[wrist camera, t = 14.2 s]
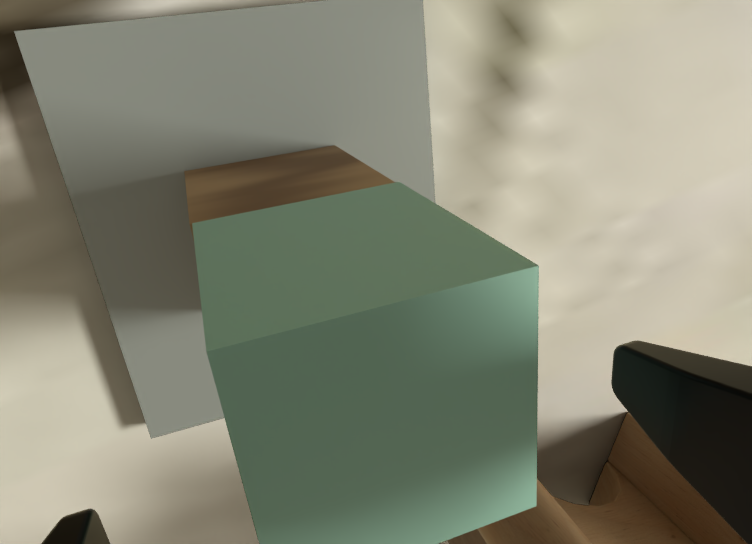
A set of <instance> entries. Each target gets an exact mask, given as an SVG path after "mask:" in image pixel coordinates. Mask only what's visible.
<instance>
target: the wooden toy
mask: <svg viewBox="0 0 752 544" xmlns="http://www.w3.org/2000/svg"><path fill="white" fill-rule="evenodd" d="M447 541H448V543H449V544H747V543H746V542H745V541H744V540H743V539H742V538H741V537H740V536H739V535H738V534H737V533H736V532H735V531H734V530H733V529H732V528H731V526H730V525H729V524H728V523H727V522H726V521H725V520H724V519H723V518H722V517H721V516H720V515H719V514H718V513H717V512H716V511H715V510H714V509H713V508H712V507H711V506H710V505H709V504H708V503H707V501H706V500H705V499H704V498H703V497H702V496H701V495H700V494H699V493H698V492H697V491H696V490H695V489H694V488H693V487H692V486H691V485H690V484H689V483H688V482H687V481H686V480H685V479H684V478H683V476H682V475H681V474H680V473H679V472H678V471H677V470H676V469H675V468H674V467H673V466H672V465H671V464H670V463H669V461H668V460H667V459H666V458H665V457H664V455H663V454H662V453H661V452H660V451H659V449H658V448H657V447H656V446H655V444H654V443H653V442H652V441H651V439H650V438H649V437H648V436H647V434H646V433H645V432H644V431H643V429H642V428H641V427H640V426H639V424H638V423H637V422H636V421H635V419H634V418H633V417H632V416H631V414H630V413H627V414H626V416H625V419H624V421H623V424H622V426H621V428H620V431H619V433H618V436H617V438H616V441H615V443H614V446H613V448H612V451H611V453H610V456H609V458H608V462H606V463H605V465H604V468H603V470H602V472H601V475H600V477H599V480H598V482H597V485H596V487H595V490H594V492H593V495H592V497H591V500H590V502H589V505H580V504H573V503H570V502H568V501H565V500H562V499H559V498H556V497H553V496H552V495H551V494H550V493H549V492H548V491H547V489H546V488H545V487H544V486H543V485H542V484H541V482H540V481H539V480H538V479H537V505H536V506H535V507H533V508H530V509H528V510H525V511H522V512H520V513H517V514H514V515H512V516H509V517H507V518H504V519H501V520H499V521H496V522H494V523H491V524H488V525H486V526H483V527H480V528H478V529H475V530H473V531H470V532H467V533H465V534H462V535H460V536H457V537H454V538H452V539H449V540H447Z"/></svg>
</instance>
